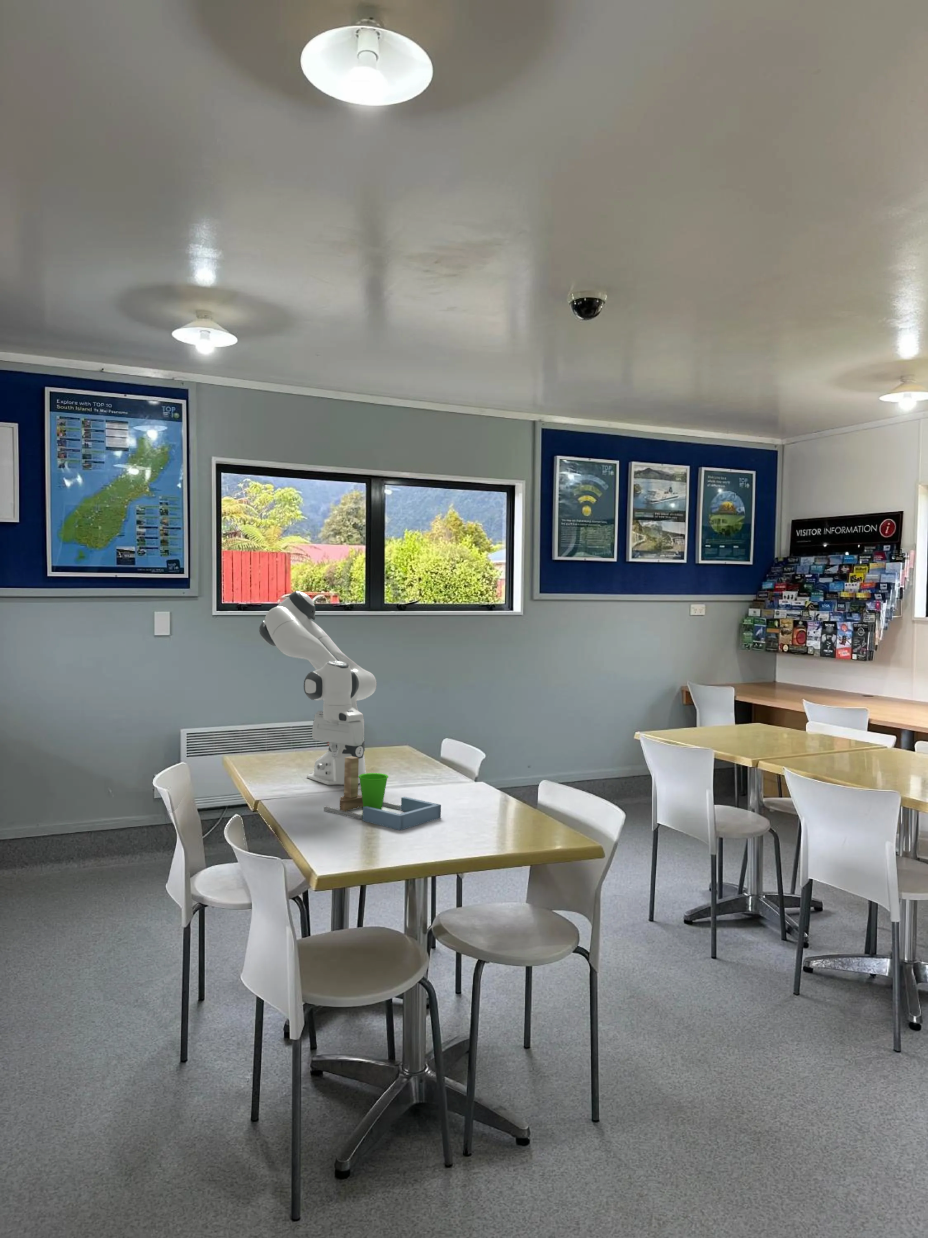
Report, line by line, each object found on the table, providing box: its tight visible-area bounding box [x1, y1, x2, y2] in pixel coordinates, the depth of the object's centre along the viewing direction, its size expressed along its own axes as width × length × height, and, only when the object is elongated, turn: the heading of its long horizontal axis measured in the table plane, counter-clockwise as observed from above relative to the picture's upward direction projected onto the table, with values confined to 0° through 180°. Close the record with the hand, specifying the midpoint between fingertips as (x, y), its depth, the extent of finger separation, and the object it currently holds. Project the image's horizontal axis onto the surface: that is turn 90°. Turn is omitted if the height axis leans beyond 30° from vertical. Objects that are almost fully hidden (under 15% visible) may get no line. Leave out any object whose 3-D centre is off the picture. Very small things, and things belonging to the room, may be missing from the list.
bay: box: [362, 796, 442, 831], centre depth 246 cm, size 14×18×4 cm
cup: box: [358, 772, 389, 810], centre depth 253 cm, size 9×9×11 cm
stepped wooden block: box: [339, 756, 363, 811], centre depth 258 cm, size 5×12×15 cm, turn 142°
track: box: [323, 800, 401, 821], centre depth 255 cm, size 16×18×1 cm
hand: (336, 757), depth 262 cm, fingers closed
